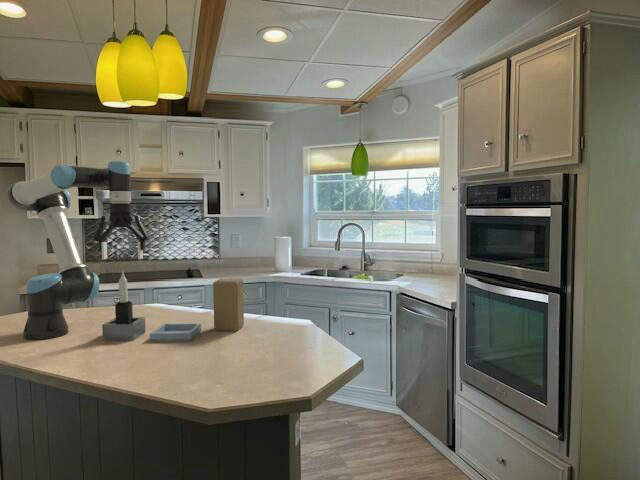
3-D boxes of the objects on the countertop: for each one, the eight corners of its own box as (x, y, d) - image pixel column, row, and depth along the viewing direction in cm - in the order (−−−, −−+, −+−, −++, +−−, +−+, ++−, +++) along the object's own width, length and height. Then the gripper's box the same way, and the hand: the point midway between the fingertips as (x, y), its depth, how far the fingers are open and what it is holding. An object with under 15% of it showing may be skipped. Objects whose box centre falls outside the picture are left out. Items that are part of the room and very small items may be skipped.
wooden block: (244, 325, 191) (243, 278, 190) (237, 331, 181) (237, 281, 180) (221, 325, 192) (220, 277, 191) (213, 331, 182) (212, 281, 181)
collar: (102, 340, 170) (102, 324, 170) (116, 332, 182) (116, 317, 181) (133, 340, 170) (133, 324, 170) (145, 332, 181) (145, 317, 181)
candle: (128, 338, 173) (126, 272, 172) (115, 338, 173) (112, 272, 172) (134, 334, 178) (132, 270, 177) (121, 334, 178) (119, 270, 177)
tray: (150, 341, 168) (149, 333, 168) (164, 330, 183) (163, 323, 183) (190, 341, 168) (190, 333, 168) (201, 330, 183) (201, 323, 183)
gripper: (82, 203, 169) (84, 260, 170) (149, 202, 169) (151, 259, 170) (92, 203, 176) (94, 258, 178) (157, 202, 176) (158, 257, 178)
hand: (122, 259), depth 174 cm, fingers open, 13 cm apart
